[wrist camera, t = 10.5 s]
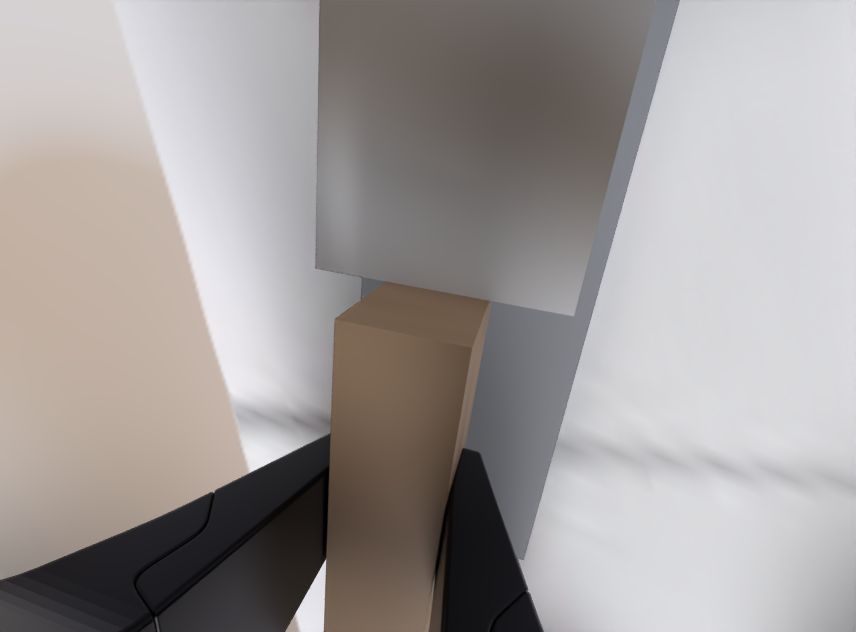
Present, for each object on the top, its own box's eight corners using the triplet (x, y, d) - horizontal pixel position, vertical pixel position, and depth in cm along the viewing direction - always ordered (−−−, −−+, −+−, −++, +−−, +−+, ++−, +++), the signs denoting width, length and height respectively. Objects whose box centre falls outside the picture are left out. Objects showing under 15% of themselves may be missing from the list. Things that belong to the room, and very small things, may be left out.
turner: (498, 587, 11) (484, 729, 8) (325, 532, 12) (260, 641, 9) (671, -95, 6) (792, -336, 3) (345, -95, 7) (212, -280, 4)
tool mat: (523, 547, 18) (523, 560, 17) (354, 497, 19) (349, 507, 19) (703, -103, 10) (712, -119, 9) (391, -102, 11) (384, -116, 11)
